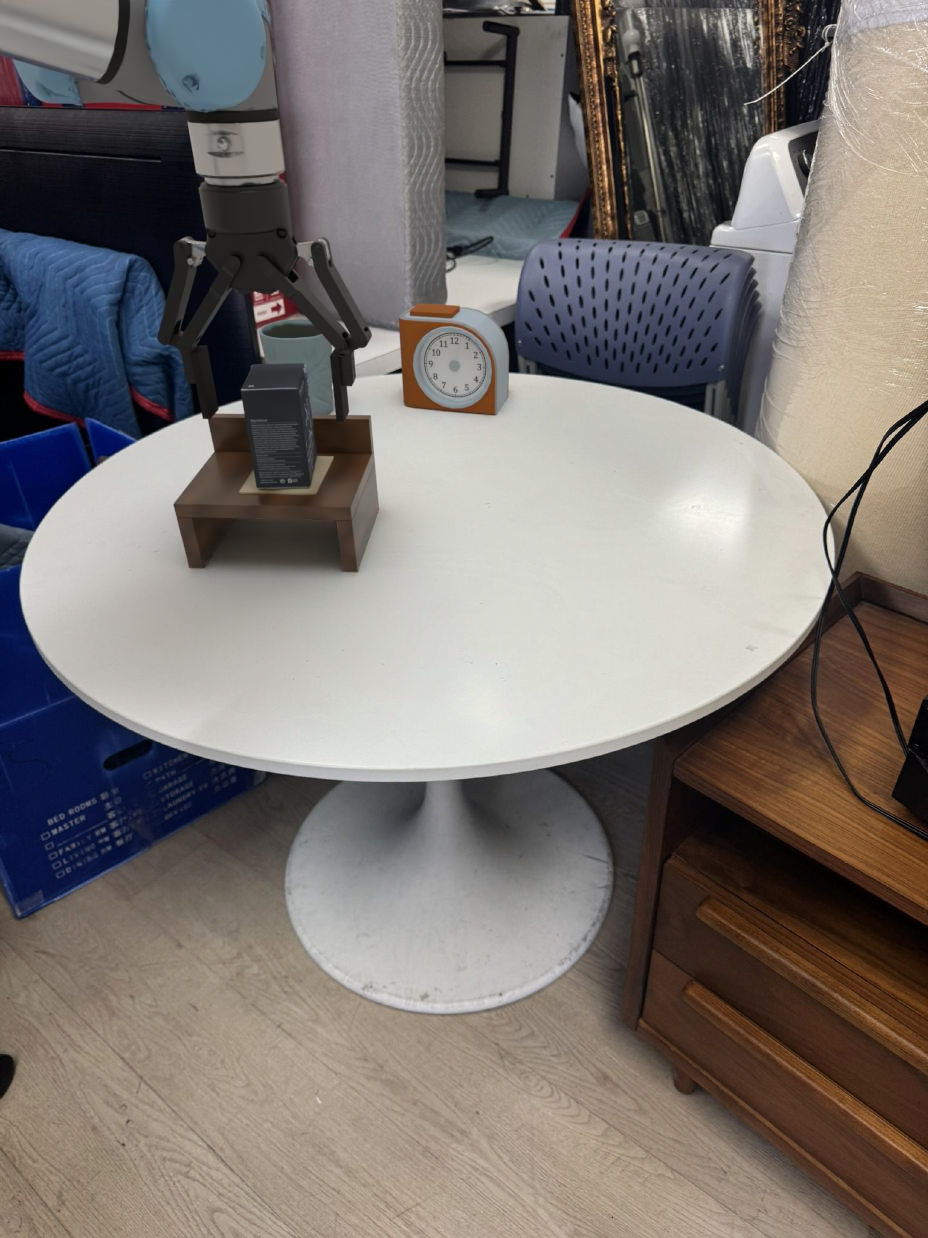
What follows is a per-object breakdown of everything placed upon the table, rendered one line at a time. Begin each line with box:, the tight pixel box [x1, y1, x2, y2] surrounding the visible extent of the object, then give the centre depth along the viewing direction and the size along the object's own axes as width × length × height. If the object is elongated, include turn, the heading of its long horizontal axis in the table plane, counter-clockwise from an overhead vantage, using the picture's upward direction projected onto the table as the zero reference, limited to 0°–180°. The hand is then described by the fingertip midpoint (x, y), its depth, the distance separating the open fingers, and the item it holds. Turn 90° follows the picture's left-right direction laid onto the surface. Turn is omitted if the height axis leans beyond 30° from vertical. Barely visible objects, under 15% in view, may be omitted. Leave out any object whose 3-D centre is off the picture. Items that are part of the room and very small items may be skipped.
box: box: [240, 363, 317, 489], centre depth 83 cm, size 8×6×11 cm
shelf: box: [173, 413, 380, 573], centre depth 88 cm, size 18×14×12 cm
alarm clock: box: [398, 303, 510, 416], centre depth 120 cm, size 15×8×14 cm, turn 74°
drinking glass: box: [258, 318, 334, 415], centre depth 119 cm, size 10×10×12 cm
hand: (276, 415), depth 82 cm, fingers open, 13 cm apart
